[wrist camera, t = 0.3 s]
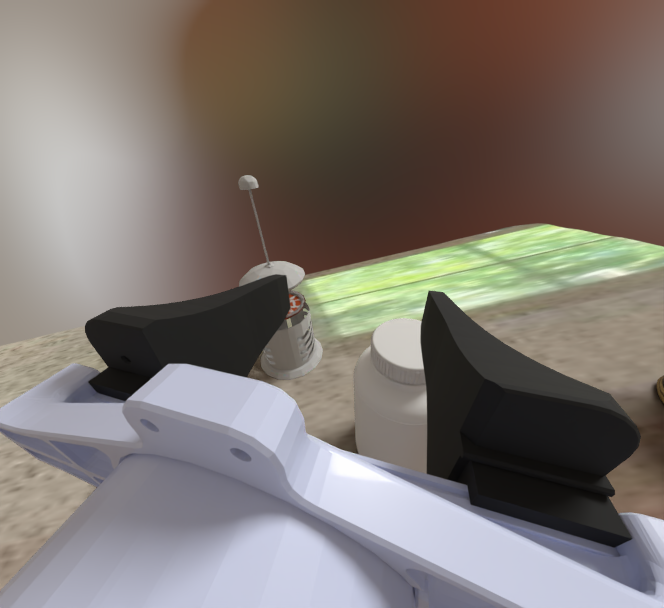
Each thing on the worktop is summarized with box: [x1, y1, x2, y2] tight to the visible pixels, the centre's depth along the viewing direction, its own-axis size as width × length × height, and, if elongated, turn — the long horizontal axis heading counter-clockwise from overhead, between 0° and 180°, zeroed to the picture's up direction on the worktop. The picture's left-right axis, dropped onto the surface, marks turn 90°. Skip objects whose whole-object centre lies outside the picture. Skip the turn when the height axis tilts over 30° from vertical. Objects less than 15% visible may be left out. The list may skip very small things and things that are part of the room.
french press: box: [238, 175, 323, 380], centre depth 31 cm, size 10×12×25 cm
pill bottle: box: [354, 318, 427, 474], centre depth 21 cm, size 8×8×15 cm
